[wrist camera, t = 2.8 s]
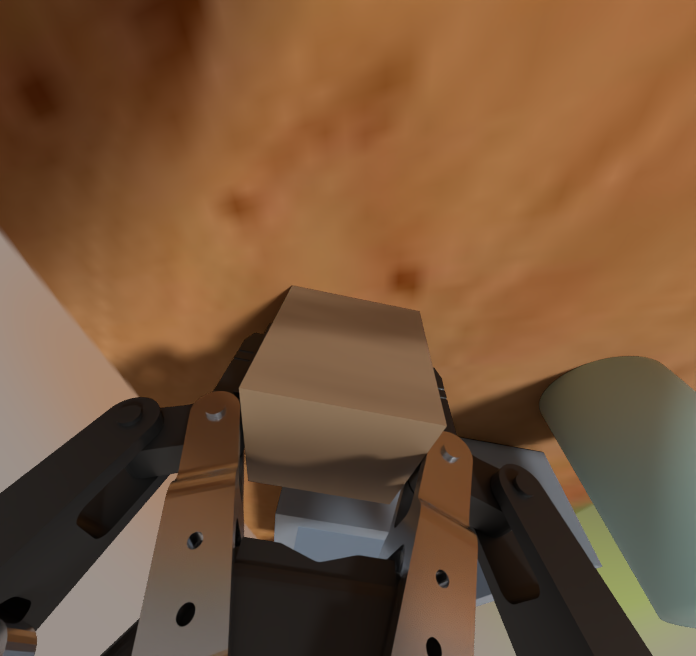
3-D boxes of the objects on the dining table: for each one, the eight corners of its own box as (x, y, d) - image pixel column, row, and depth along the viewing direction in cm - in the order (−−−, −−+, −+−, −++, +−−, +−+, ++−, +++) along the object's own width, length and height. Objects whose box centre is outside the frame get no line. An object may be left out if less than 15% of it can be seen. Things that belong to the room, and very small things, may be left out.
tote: (302, 408, 15) (275, 513, 11) (543, 452, 15) (602, 566, 11) (287, 520, 26) (271, 593, 22) (429, 543, 26) (439, 618, 22)
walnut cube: (291, 285, 10) (238, 388, 6) (419, 311, 10) (446, 425, 6) (286, 373, 13) (248, 481, 9) (385, 392, 13) (389, 504, 9)
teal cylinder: (588, 345, 11) (816, 582, 5) (702, 369, 11) (1042, 620, 5) (518, 417, 14) (615, 615, 8) (609, 434, 14) (763, 638, 8)
